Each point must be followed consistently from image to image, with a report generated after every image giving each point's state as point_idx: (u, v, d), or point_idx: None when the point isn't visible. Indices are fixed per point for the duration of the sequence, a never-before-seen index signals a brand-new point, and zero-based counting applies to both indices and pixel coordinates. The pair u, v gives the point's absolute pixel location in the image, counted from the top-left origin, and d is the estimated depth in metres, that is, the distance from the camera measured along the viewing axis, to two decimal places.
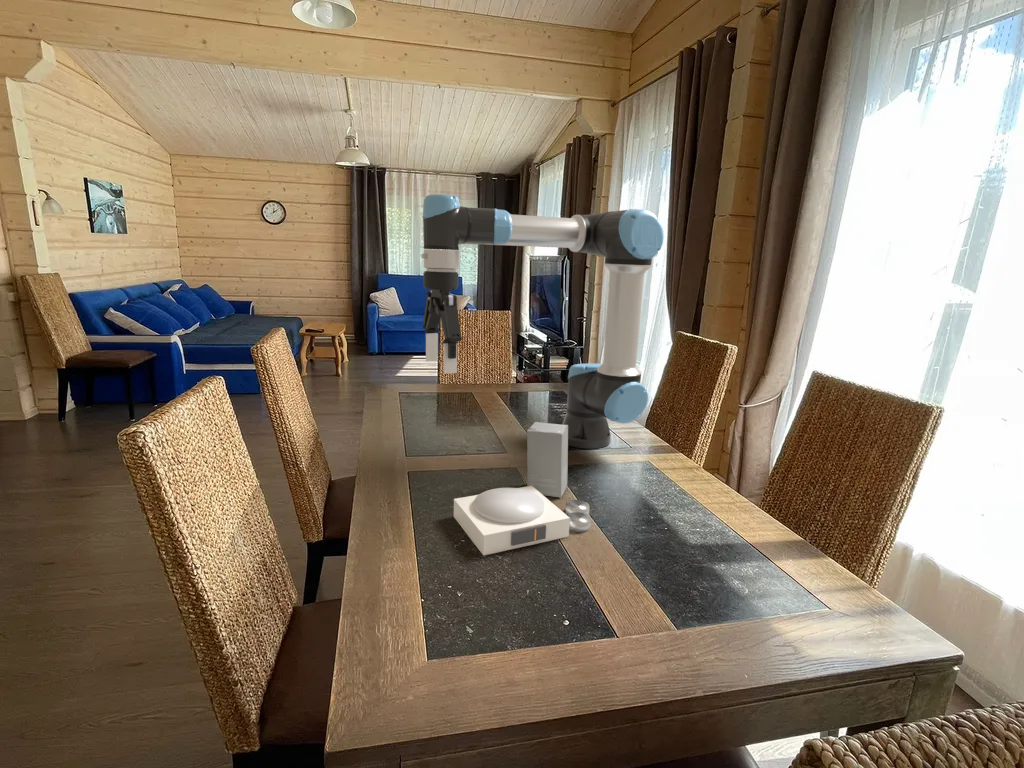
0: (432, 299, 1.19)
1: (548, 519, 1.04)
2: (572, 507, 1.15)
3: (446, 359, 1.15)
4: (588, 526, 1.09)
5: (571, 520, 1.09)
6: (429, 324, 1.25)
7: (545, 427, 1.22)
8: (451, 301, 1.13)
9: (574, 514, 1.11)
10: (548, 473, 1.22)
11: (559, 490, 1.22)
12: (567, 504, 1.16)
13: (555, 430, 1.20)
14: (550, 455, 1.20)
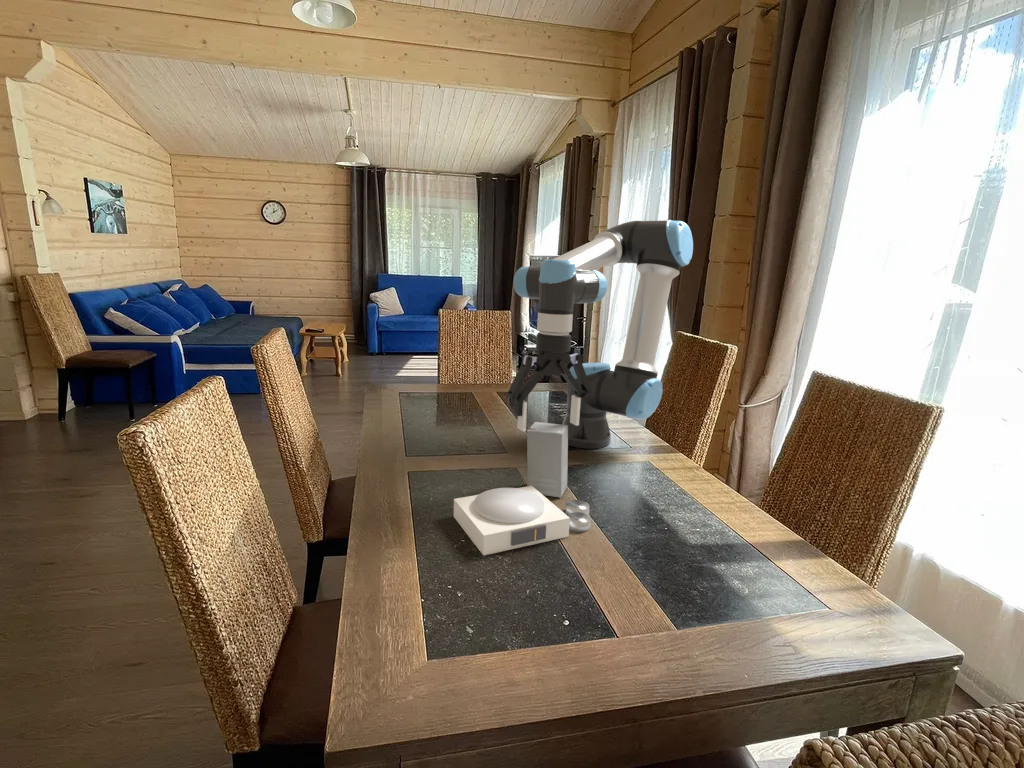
0: None
1: (548, 519, 1.04)
2: (572, 507, 1.15)
3: None
4: (588, 526, 1.09)
5: (571, 520, 1.09)
6: (570, 386, 1.24)
7: (545, 427, 1.22)
8: (524, 361, 1.16)
9: (574, 514, 1.11)
10: (548, 473, 1.22)
11: (559, 490, 1.22)
12: (567, 504, 1.16)
13: (555, 430, 1.20)
14: (550, 455, 1.20)
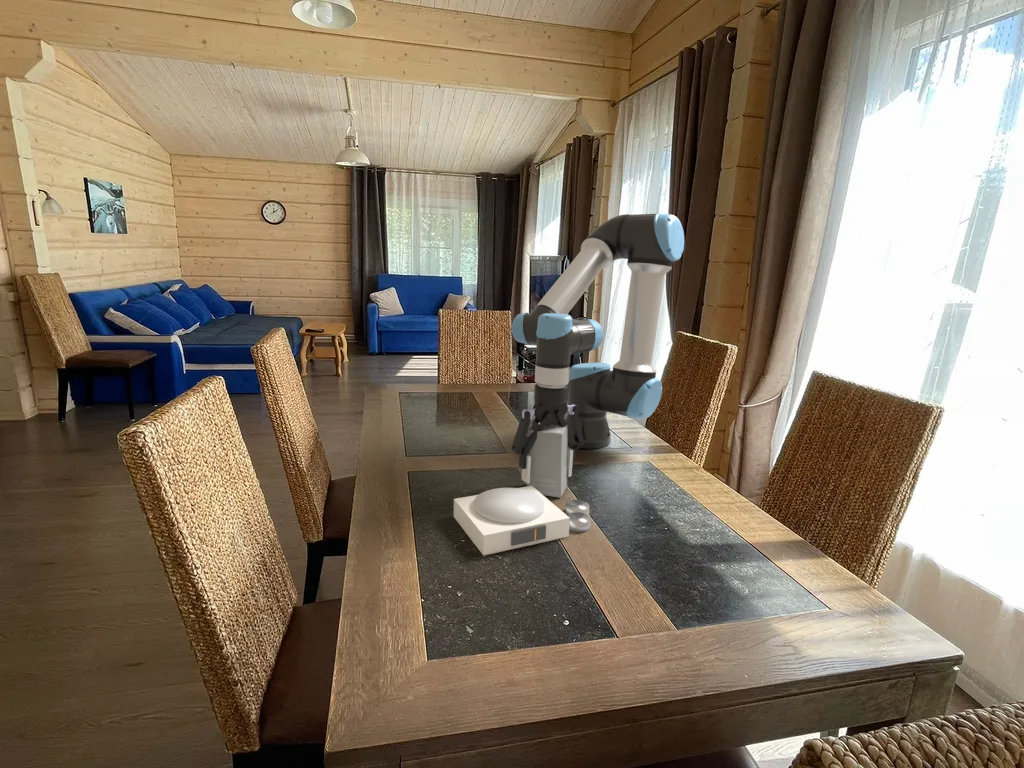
0: None
1: (548, 519, 1.04)
2: (572, 507, 1.15)
3: None
4: (588, 526, 1.09)
5: (571, 520, 1.09)
6: None
7: (544, 427, 1.22)
8: (523, 416, 1.19)
9: (574, 514, 1.11)
10: (547, 473, 1.22)
11: (559, 490, 1.22)
12: (567, 504, 1.16)
13: (555, 430, 1.20)
14: (550, 455, 1.20)
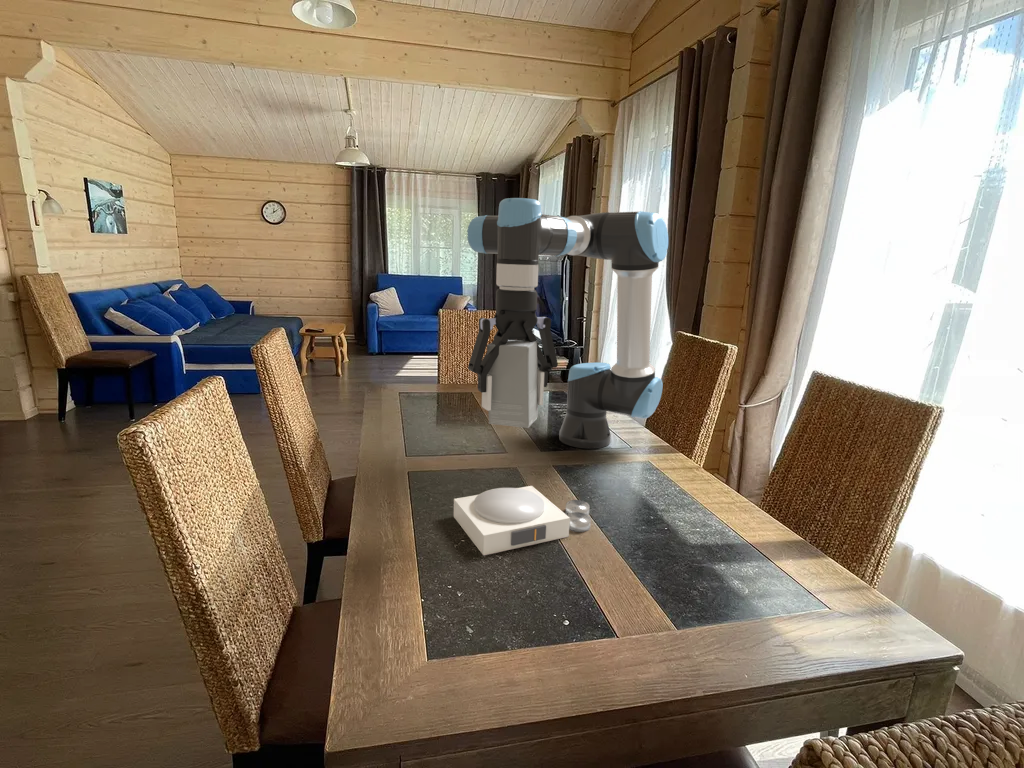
0: None
1: (548, 519, 1.04)
2: (572, 507, 1.15)
3: (482, 391, 1.02)
4: (588, 526, 1.09)
5: (571, 520, 1.09)
6: None
7: (509, 342, 1.00)
8: (481, 325, 0.97)
9: (573, 514, 1.11)
10: (512, 397, 1.00)
11: (526, 418, 1.01)
12: (567, 504, 1.16)
13: (521, 344, 0.98)
14: (515, 375, 0.99)
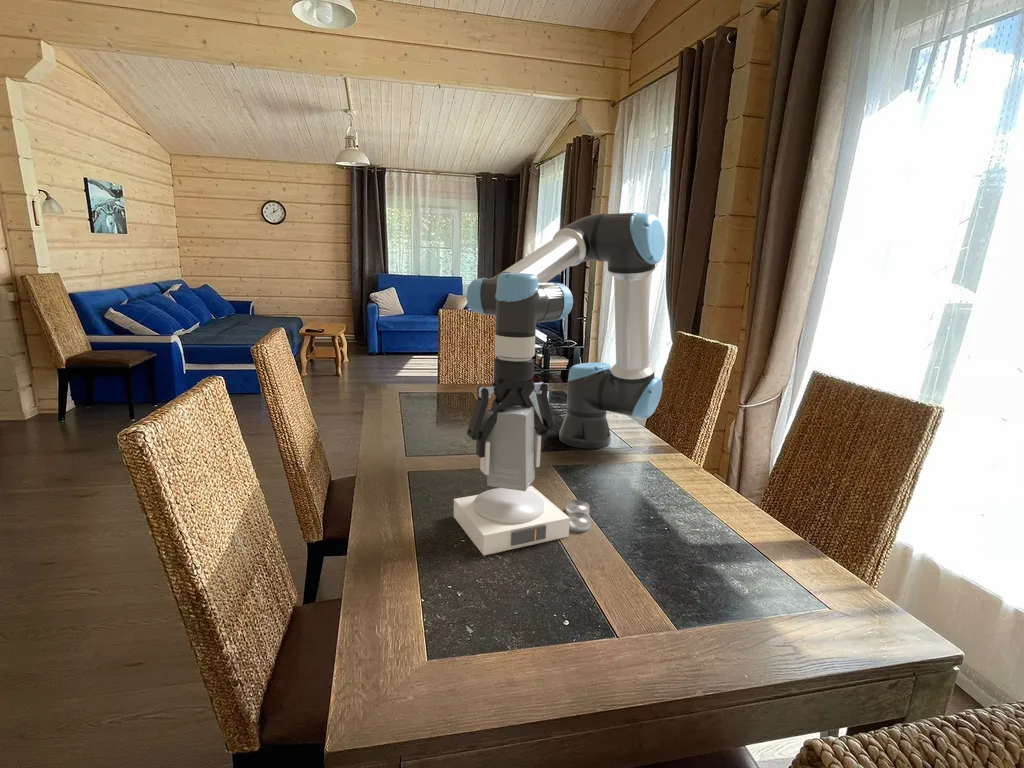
0: None
1: (548, 519, 1.04)
2: (572, 507, 1.15)
3: None
4: (588, 526, 1.09)
5: (571, 520, 1.09)
6: None
7: (506, 409, 1.03)
8: (480, 394, 1.00)
9: (573, 514, 1.11)
10: (510, 462, 1.03)
11: (523, 482, 1.03)
12: (567, 504, 1.16)
13: (518, 412, 1.01)
14: (513, 441, 1.02)
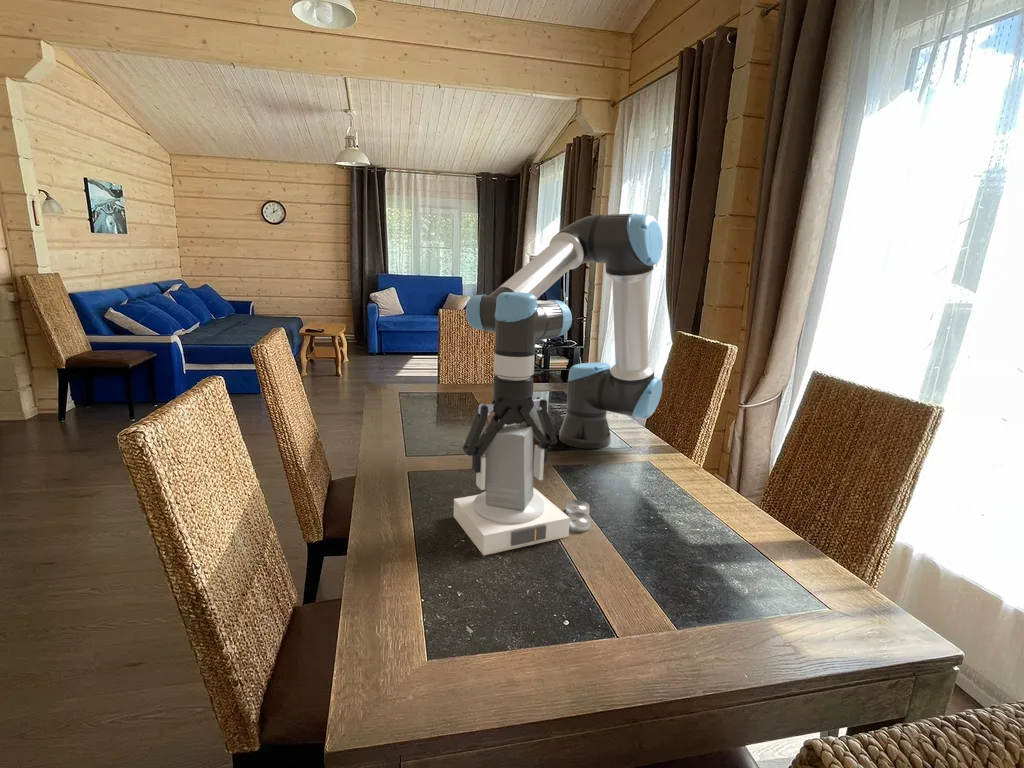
0: None
1: (548, 519, 1.04)
2: (572, 507, 1.15)
3: None
4: (588, 526, 1.09)
5: (571, 520, 1.09)
6: None
7: (505, 429, 1.04)
8: (479, 411, 1.01)
9: (573, 514, 1.11)
10: (509, 482, 1.04)
11: (522, 502, 1.04)
12: (567, 504, 1.16)
13: (517, 432, 1.02)
14: (511, 461, 1.03)
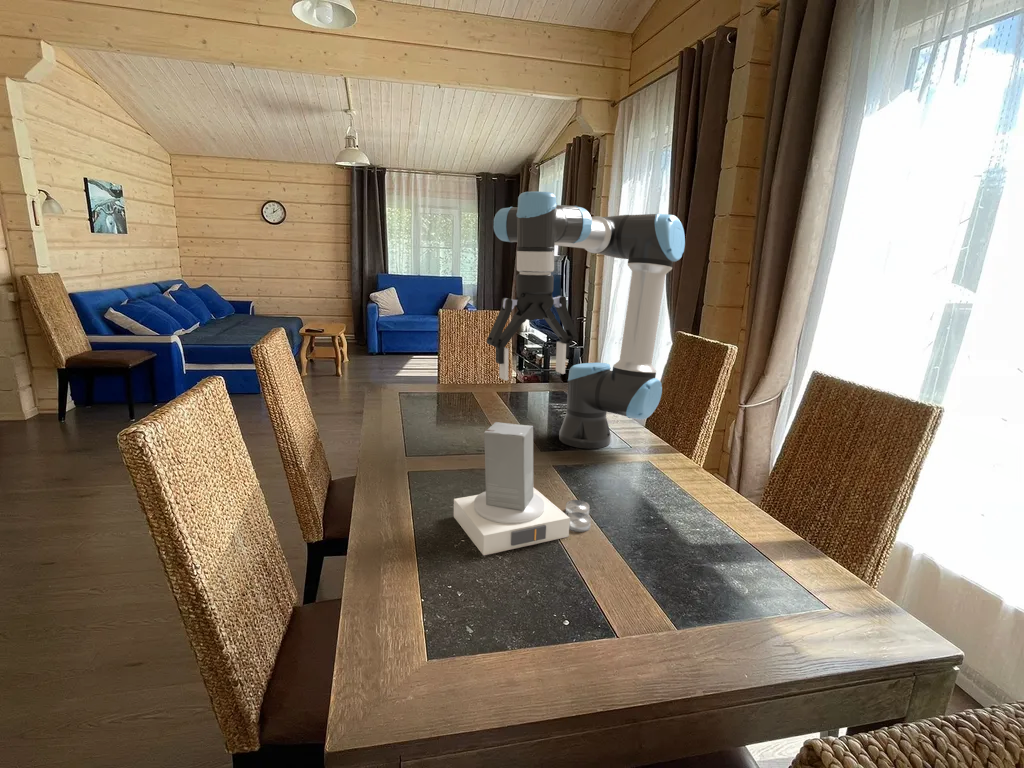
0: None
1: (548, 519, 1.04)
2: (572, 507, 1.15)
3: None
4: (588, 526, 1.09)
5: (571, 520, 1.09)
6: (554, 331, 1.16)
7: (505, 429, 1.04)
8: (504, 304, 1.08)
9: (573, 514, 1.11)
10: (509, 482, 1.04)
11: (522, 502, 1.04)
12: (567, 504, 1.16)
13: (517, 432, 1.02)
14: (511, 461, 1.03)
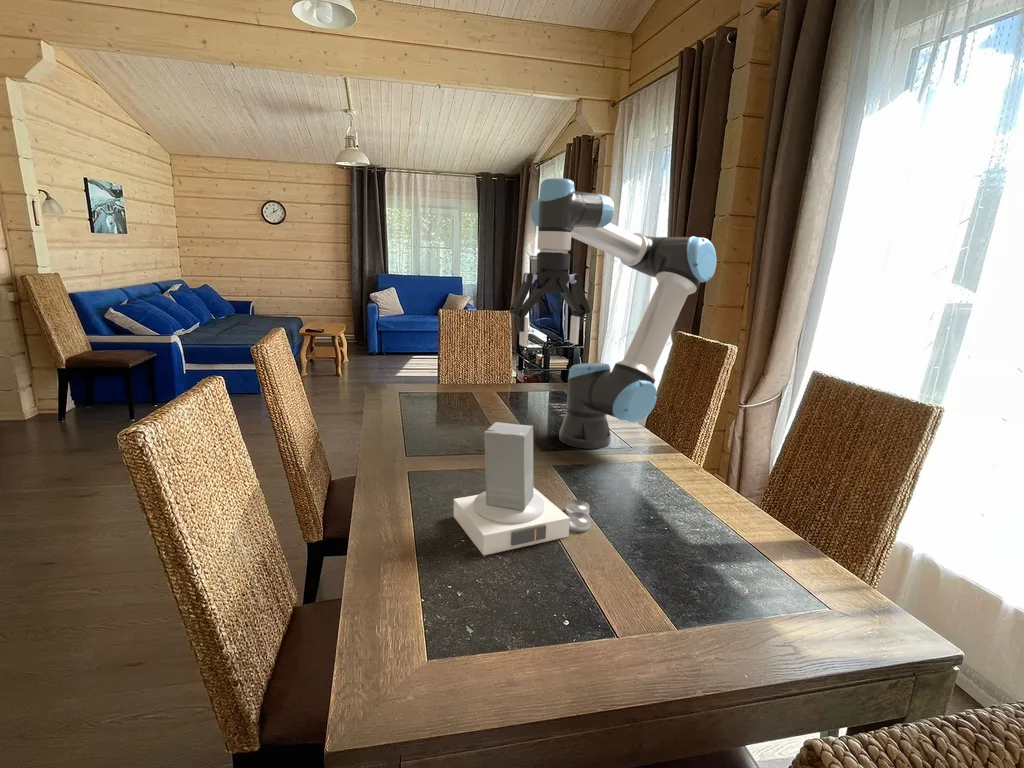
0: None
1: (548, 519, 1.04)
2: (572, 507, 1.15)
3: (520, 331, 1.25)
4: (588, 526, 1.09)
5: (571, 520, 1.09)
6: (569, 306, 1.29)
7: (505, 429, 1.04)
8: (525, 278, 1.22)
9: (573, 514, 1.11)
10: (509, 482, 1.04)
11: (522, 502, 1.04)
12: (567, 504, 1.16)
13: (517, 432, 1.02)
14: (511, 461, 1.03)
